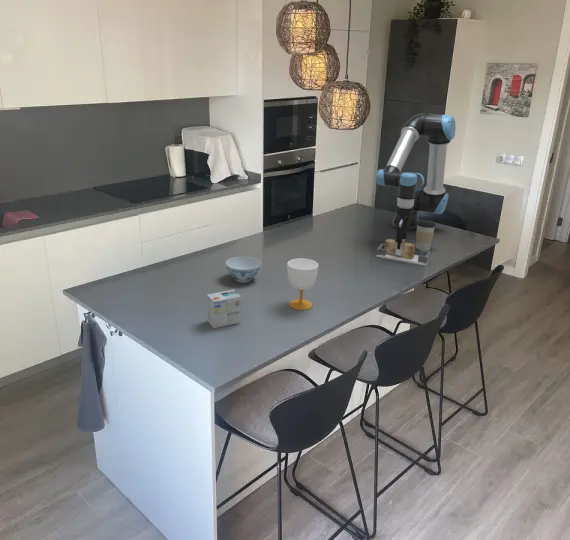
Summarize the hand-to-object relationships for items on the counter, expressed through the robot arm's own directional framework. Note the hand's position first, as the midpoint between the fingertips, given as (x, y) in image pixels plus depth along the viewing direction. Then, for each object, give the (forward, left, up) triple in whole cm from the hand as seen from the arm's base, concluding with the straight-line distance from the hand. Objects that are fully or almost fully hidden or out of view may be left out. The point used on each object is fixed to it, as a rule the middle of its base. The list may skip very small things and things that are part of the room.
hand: (399, 253), depth 260 cm
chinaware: (+60, -53, -2) cm, 80 cm away
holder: (0, +2, -2) cm, 3 cm away
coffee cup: (-19, +8, -2) cm, 21 cm away
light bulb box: (+97, -41, -2) cm, 105 cm away
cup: (+71, -22, -2) cm, 74 cm away
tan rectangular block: (0, 0, -1) cm, 1 cm away
